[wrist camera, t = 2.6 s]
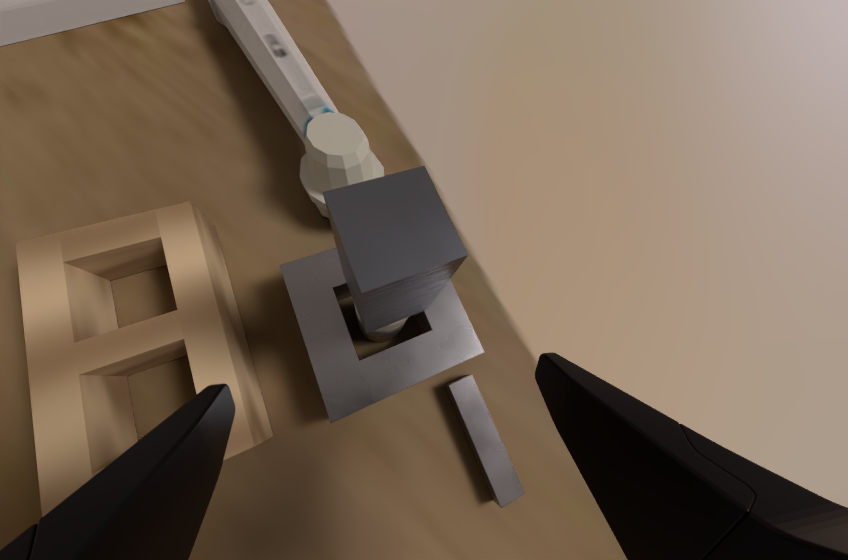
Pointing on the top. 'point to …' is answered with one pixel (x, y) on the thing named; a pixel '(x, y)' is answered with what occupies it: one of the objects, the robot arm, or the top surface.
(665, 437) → the robot arm
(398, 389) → the socket
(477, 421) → the bar
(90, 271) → the rack
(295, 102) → the white bulb-headed handheld tool
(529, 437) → the top surface
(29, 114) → the top surface
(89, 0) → the grey arched slab
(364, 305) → the tall grey square pillar
